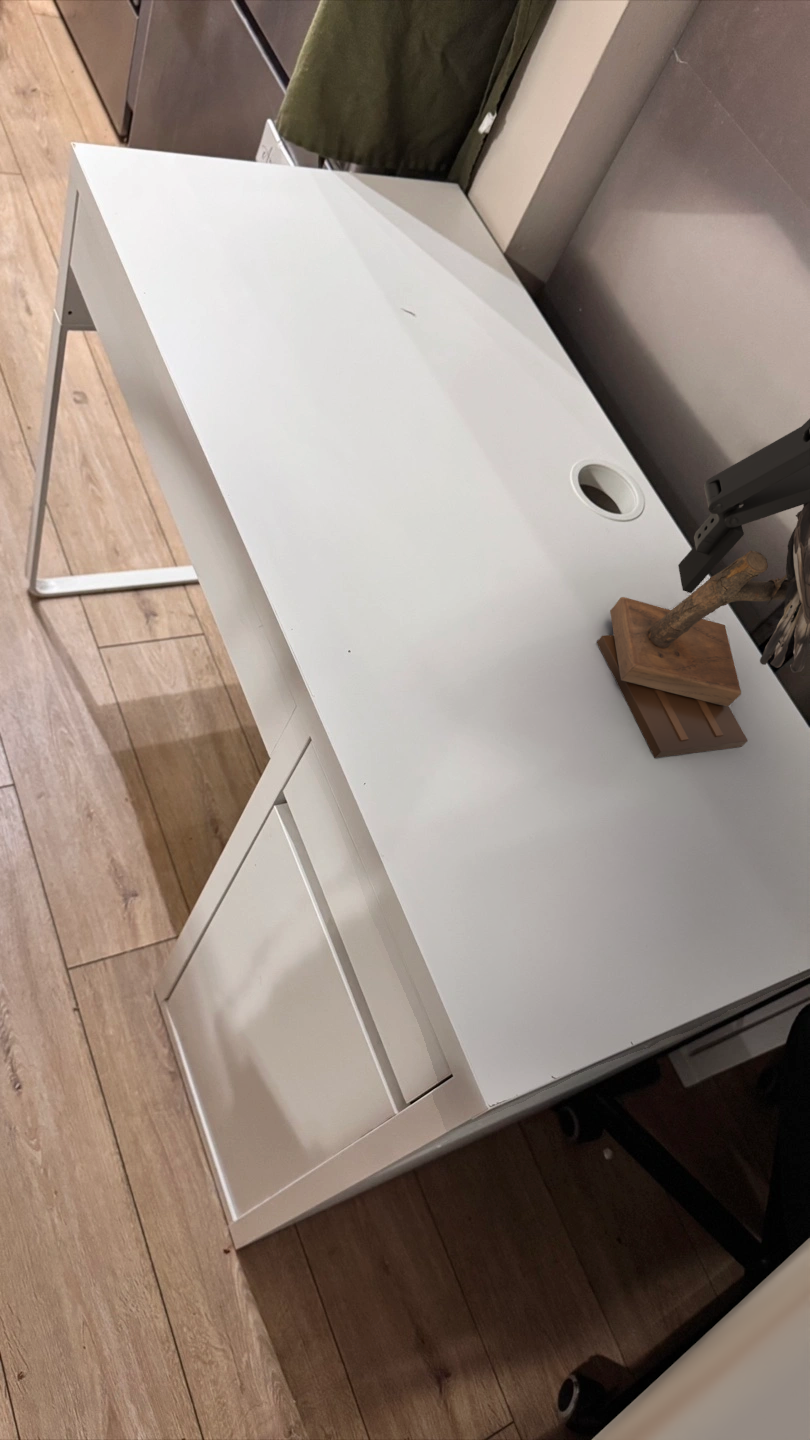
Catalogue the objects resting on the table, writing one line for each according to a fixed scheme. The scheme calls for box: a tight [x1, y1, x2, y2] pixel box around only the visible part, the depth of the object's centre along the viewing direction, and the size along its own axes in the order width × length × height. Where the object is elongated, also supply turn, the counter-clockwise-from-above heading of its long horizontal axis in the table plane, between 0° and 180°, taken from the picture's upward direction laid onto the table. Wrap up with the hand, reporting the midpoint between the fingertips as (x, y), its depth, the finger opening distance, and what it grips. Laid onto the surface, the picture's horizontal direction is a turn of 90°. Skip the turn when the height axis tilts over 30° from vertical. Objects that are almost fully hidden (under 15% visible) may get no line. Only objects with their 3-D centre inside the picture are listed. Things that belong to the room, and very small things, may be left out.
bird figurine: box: [609, 502, 810, 707], centre depth 78 cm, size 11×14×25 cm
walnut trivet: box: [596, 634, 749, 759], centre depth 88 cm, size 12×10×1 cm
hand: (758, 603), depth 79 cm, fingers open, 13 cm apart
